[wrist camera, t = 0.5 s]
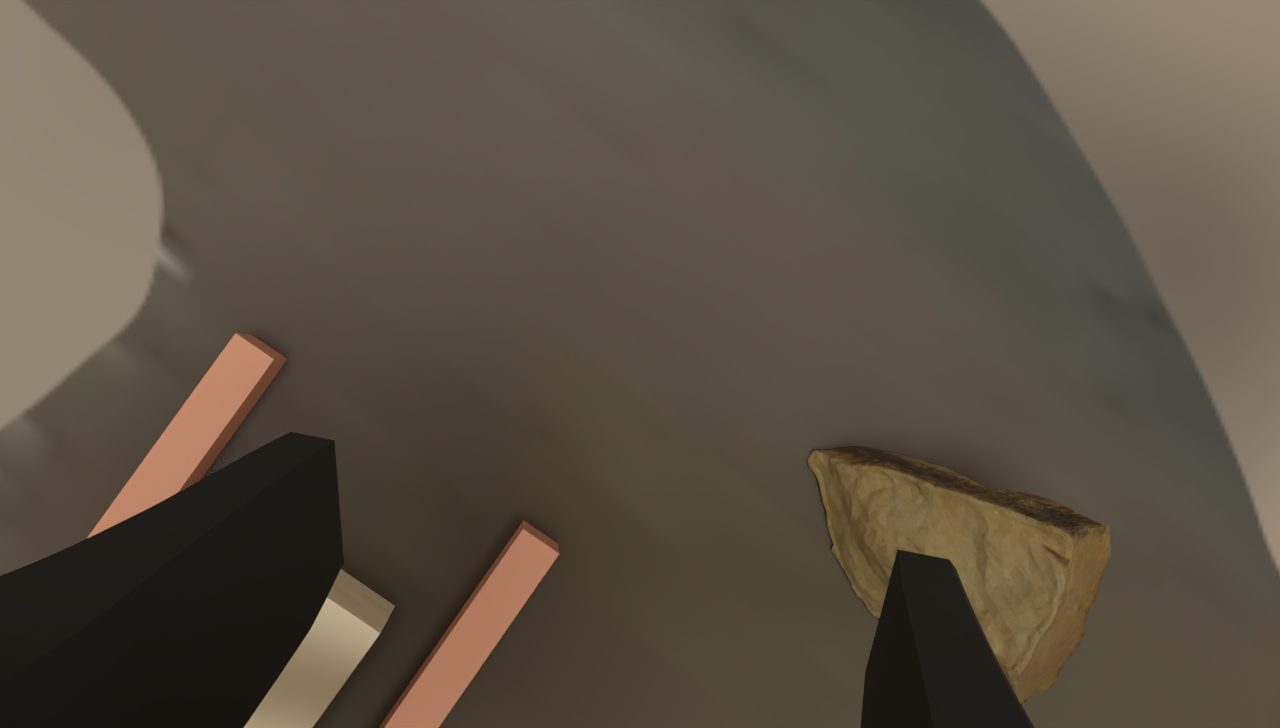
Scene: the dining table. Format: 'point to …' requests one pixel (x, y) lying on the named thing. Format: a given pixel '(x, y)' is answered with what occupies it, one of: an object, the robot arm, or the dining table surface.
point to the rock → (969, 551)
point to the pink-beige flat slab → (204, 437)
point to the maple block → (324, 656)
